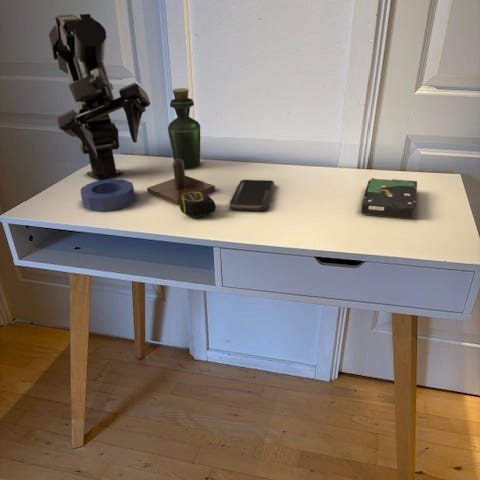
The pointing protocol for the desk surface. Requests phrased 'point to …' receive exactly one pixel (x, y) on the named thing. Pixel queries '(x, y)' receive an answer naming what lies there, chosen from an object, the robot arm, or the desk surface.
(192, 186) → the post
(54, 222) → the desk surface
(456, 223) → the desk surface
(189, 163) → the potion bottle
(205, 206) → the tape measure
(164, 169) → the desk surface
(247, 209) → the phone
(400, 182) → the disk drive
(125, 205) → the ring
